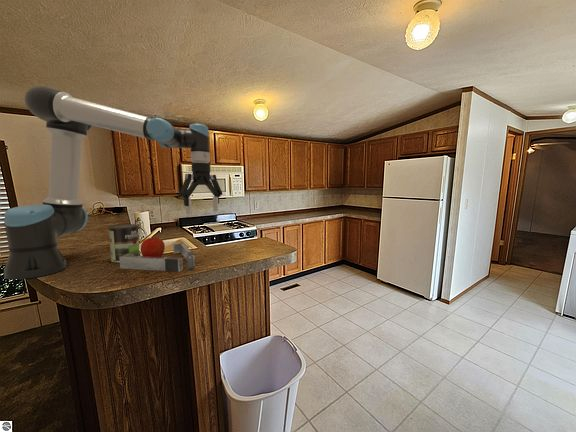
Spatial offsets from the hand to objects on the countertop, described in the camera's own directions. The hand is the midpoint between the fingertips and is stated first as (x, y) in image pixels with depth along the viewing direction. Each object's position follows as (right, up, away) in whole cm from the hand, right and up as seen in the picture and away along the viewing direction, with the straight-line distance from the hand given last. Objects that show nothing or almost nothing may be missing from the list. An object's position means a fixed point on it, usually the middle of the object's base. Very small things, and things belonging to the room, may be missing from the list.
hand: (203, 212), depth 103 cm
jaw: (-8, -20, -3) cm, 21 cm away
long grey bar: (-12, -21, -14) cm, 28 cm away
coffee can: (-32, -20, -3) cm, 37 cm away
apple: (-16, -21, -9) cm, 28 cm away
